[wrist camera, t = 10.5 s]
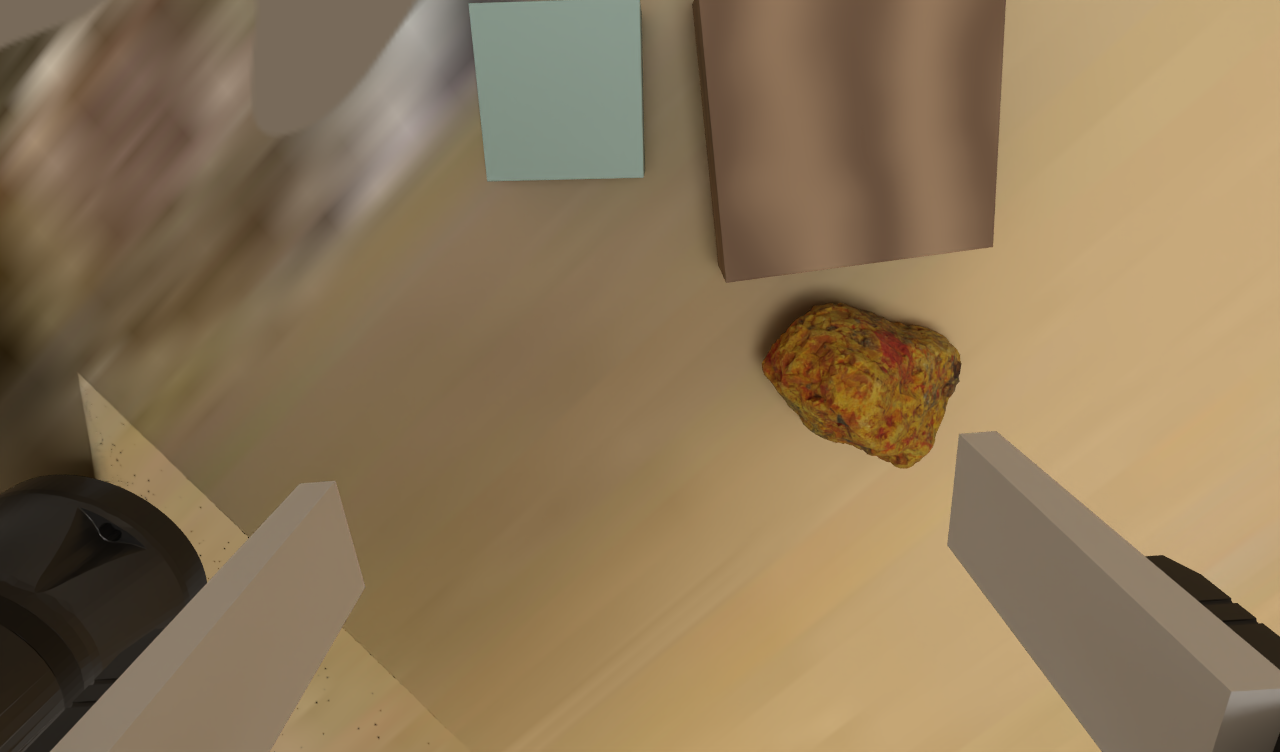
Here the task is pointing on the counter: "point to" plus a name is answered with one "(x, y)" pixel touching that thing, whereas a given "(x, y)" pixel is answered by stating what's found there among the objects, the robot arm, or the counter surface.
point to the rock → (865, 380)
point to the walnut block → (849, 129)
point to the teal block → (560, 88)
